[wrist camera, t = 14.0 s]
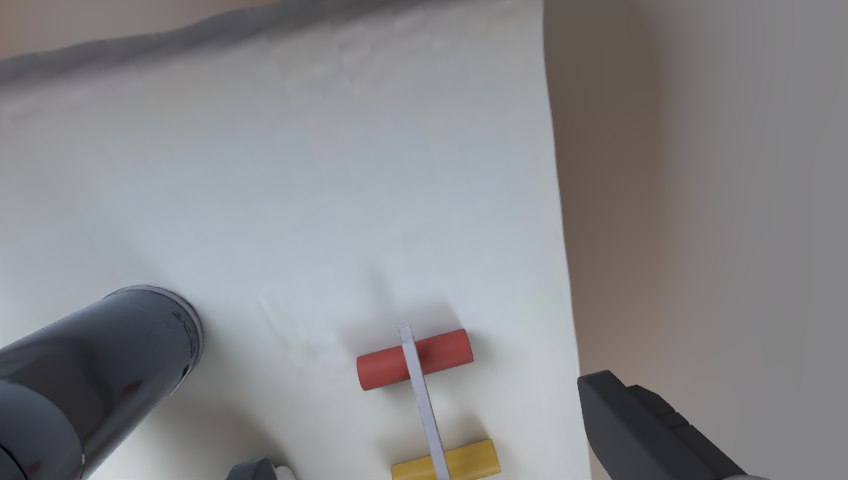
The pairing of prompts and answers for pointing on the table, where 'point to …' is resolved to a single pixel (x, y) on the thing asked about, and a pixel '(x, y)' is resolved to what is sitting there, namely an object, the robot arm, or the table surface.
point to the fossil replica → (281, 472)
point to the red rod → (431, 354)
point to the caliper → (424, 402)
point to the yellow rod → (453, 464)
